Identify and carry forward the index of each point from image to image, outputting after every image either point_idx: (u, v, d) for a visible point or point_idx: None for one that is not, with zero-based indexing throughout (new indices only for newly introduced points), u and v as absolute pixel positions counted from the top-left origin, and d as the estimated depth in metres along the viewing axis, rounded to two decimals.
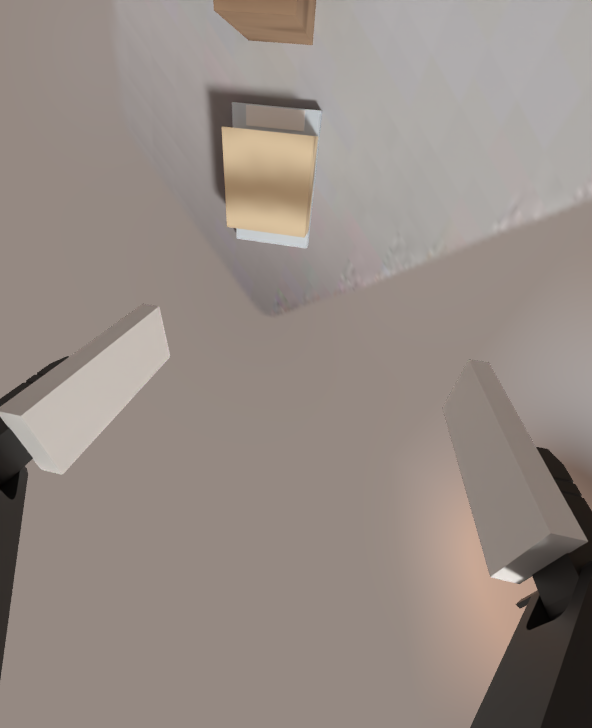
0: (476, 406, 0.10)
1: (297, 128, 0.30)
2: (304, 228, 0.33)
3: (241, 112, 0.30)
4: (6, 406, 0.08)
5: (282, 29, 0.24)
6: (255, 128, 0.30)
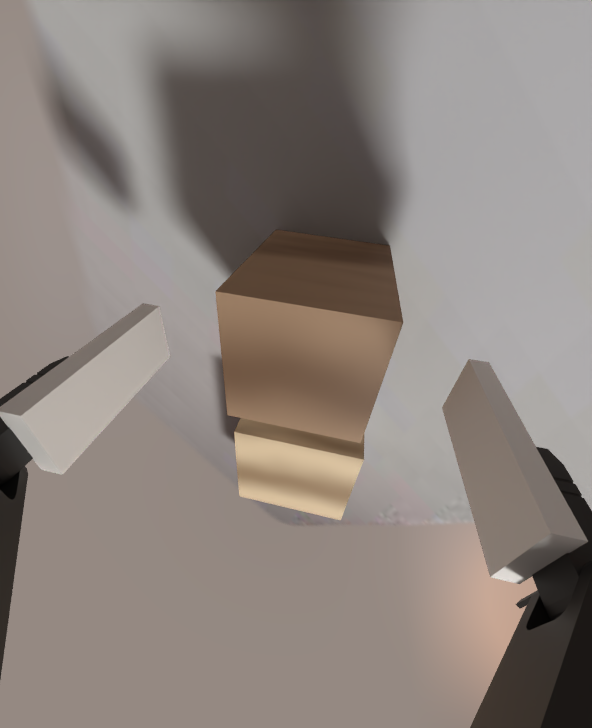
0: (476, 406, 0.10)
1: None
2: (341, 514, 0.25)
3: None
4: (6, 406, 0.08)
5: None
6: None
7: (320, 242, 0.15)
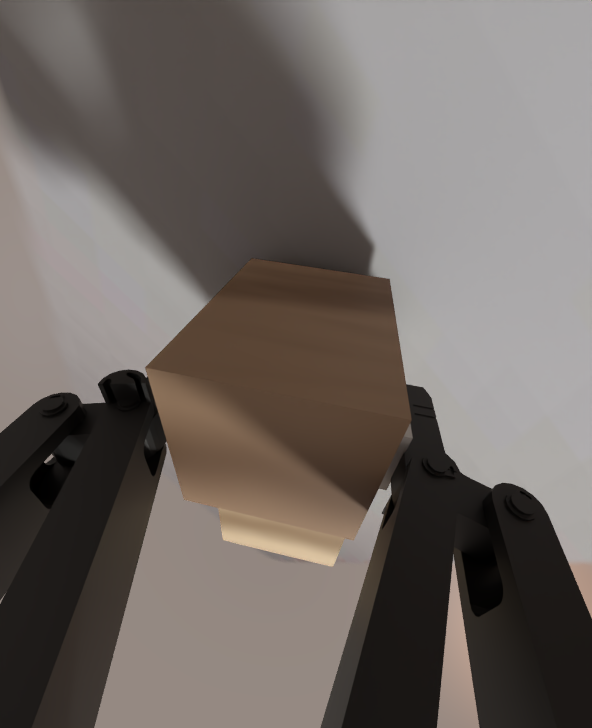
0: None
1: None
2: None
3: None
4: None
5: None
6: None
7: (303, 277, 0.12)
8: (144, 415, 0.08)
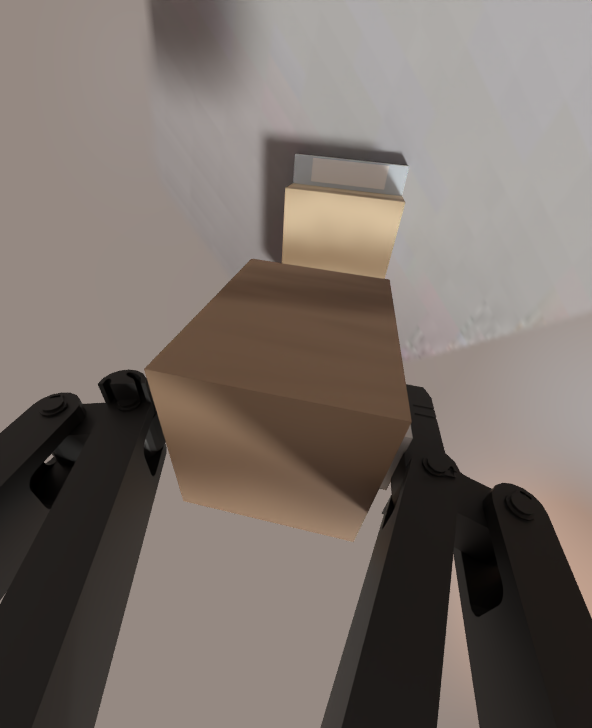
0: None
1: (376, 185, 0.24)
2: None
3: (306, 166, 0.24)
4: None
5: None
6: (322, 184, 0.25)
7: (303, 277, 0.12)
8: (144, 415, 0.08)
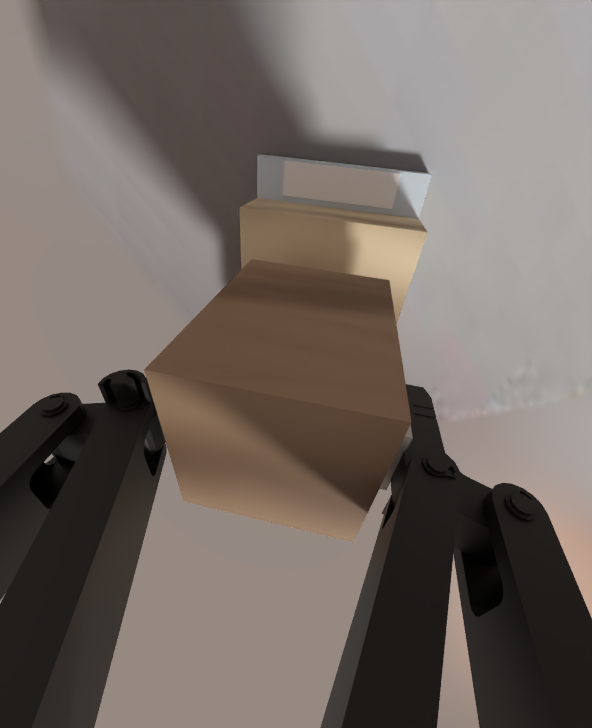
0: None
1: (380, 202, 0.16)
2: None
3: (275, 173, 0.16)
4: None
5: None
6: (299, 200, 0.17)
7: (303, 278, 0.12)
8: (144, 415, 0.08)
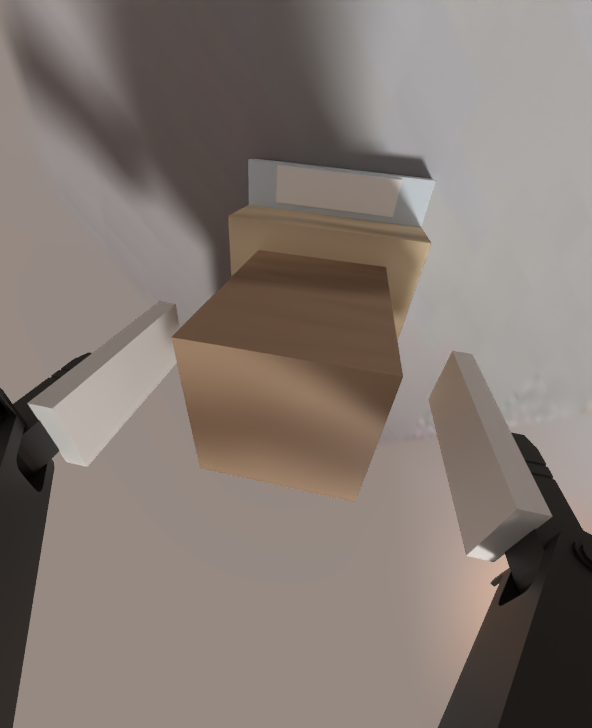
0: (458, 395, 0.11)
1: (380, 210, 0.15)
2: None
3: (267, 178, 0.15)
4: (37, 399, 0.08)
5: None
6: (294, 208, 0.15)
7: (306, 265, 0.13)
8: (10, 429, 0.07)
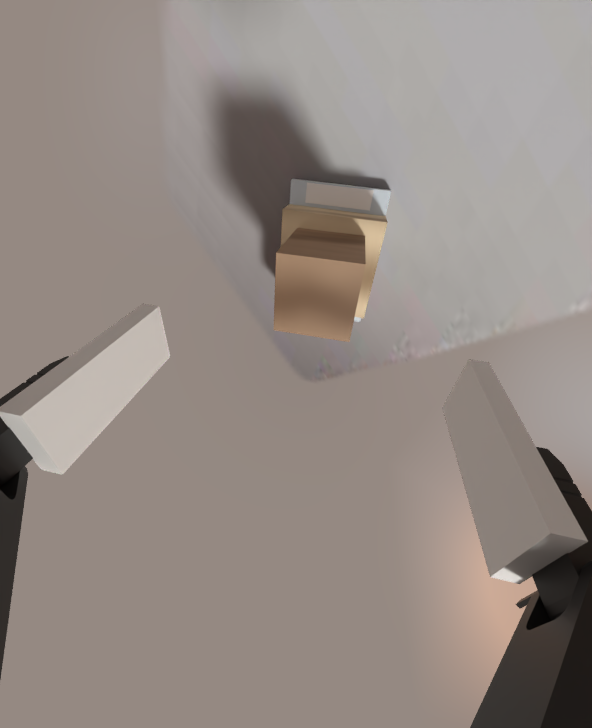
0: (476, 405, 0.10)
1: (363, 207, 0.27)
2: (364, 309, 0.30)
3: (301, 189, 0.27)
4: (6, 406, 0.08)
5: None
6: (315, 205, 0.28)
7: (324, 234, 0.25)
8: None
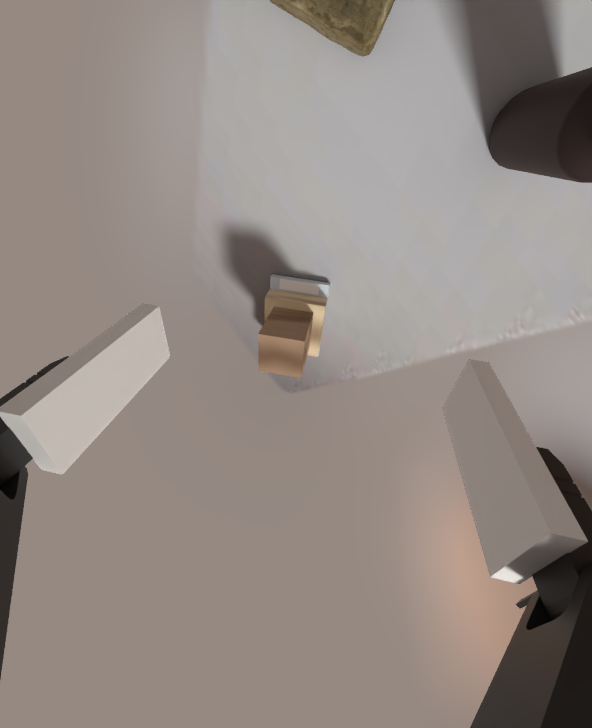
0: (476, 406, 0.10)
1: (314, 292, 0.45)
2: (317, 351, 0.48)
3: (276, 281, 0.45)
4: (6, 406, 0.08)
5: None
6: (285, 290, 0.46)
7: (288, 313, 0.43)
8: None
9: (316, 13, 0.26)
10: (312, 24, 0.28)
